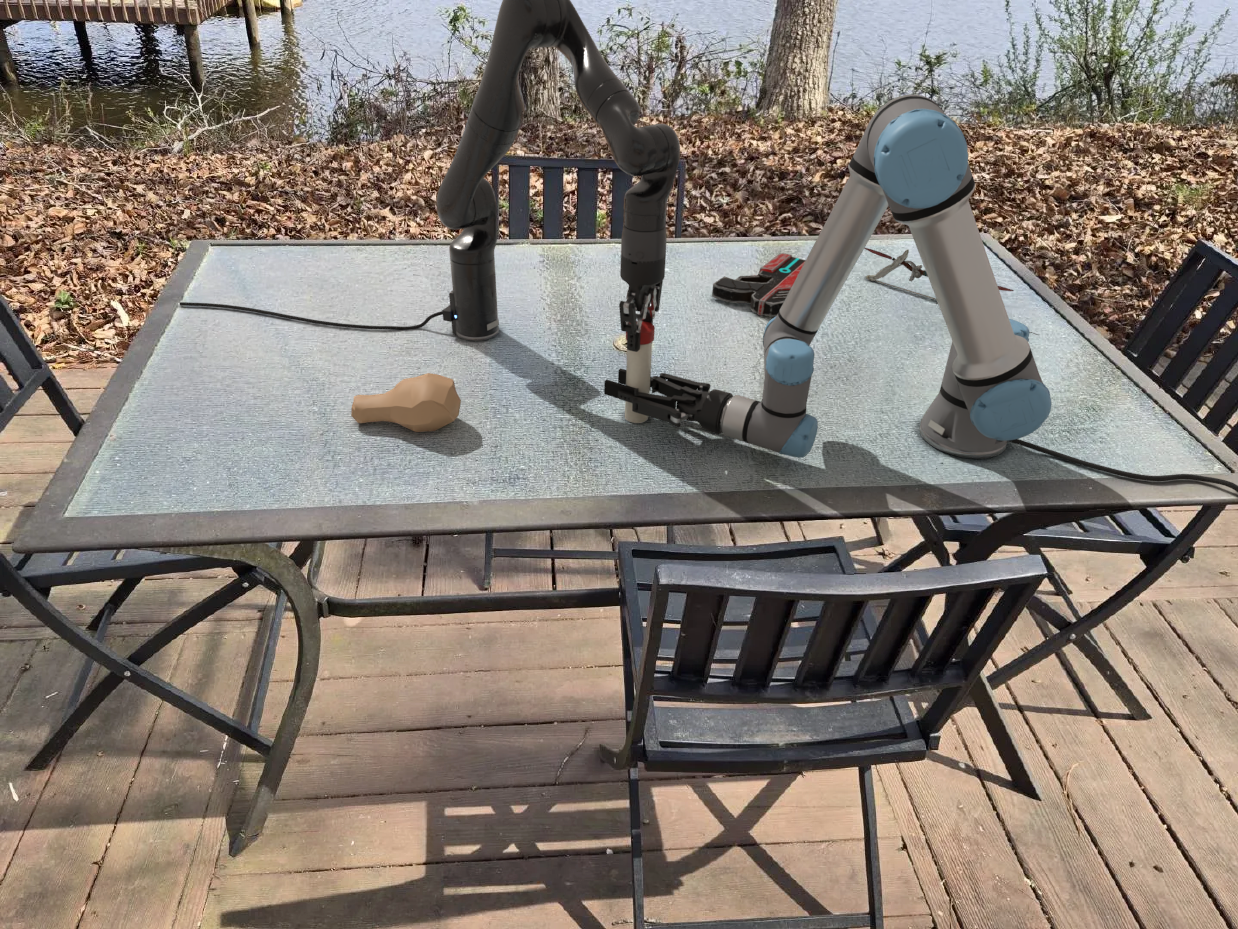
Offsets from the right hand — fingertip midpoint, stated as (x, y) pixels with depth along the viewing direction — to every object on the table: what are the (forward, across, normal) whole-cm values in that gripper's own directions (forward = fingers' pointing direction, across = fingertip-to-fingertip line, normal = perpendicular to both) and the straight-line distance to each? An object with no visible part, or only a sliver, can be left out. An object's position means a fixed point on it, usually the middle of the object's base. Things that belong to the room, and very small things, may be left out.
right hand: (612, 381), depth 163 cm
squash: (+29, -24, -6) cm, 38 cm away
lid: (-5, 0, +12) cm, 13 cm away
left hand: (-5, 0, +9) cm, 11 cm away
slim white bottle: (-5, 0, -6) cm, 8 cm away
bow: (-39, +88, -6) cm, 97 cm away
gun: (-5, +71, -6) cm, 71 cm away
